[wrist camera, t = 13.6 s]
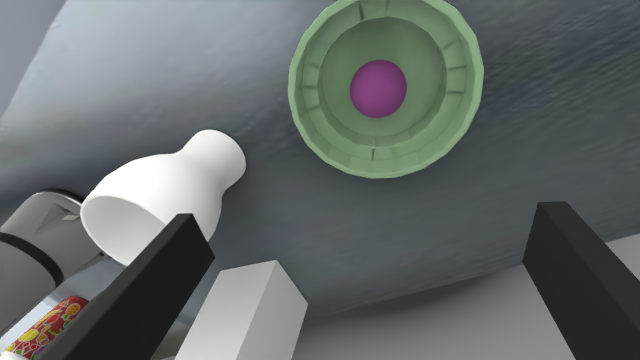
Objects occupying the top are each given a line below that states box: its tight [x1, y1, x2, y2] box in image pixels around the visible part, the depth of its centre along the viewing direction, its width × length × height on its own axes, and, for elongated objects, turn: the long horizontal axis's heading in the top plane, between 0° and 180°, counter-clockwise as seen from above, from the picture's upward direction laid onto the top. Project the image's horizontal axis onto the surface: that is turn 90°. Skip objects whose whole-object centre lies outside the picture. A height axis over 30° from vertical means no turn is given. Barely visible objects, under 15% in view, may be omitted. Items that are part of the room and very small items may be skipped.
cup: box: [80, 130, 246, 267], centre depth 30 cm, size 11×11×15 cm
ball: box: [350, 60, 407, 118], centre depth 25 cm, size 5×5×5 cm
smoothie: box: [0, 296, 88, 360], centre depth 59 cm, size 8×8×20 cm
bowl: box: [288, 0, 484, 179], centre depth 25 cm, size 15×15×6 cm
